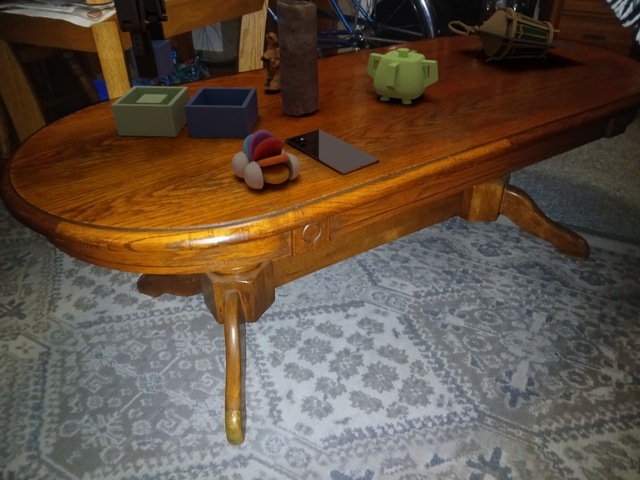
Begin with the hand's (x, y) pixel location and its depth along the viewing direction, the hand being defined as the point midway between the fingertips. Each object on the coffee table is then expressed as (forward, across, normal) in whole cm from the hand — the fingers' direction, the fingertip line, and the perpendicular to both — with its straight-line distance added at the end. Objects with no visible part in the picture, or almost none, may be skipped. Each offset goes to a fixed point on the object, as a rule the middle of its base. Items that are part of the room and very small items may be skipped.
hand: (155, 71), depth 78 cm
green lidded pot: (+14, +30, -39) cm, 51 cm away
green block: (+13, +11, +6) cm, 18 cm away
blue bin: (+13, +12, -6) cm, 19 cm away
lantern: (+14, +61, -67) cm, 91 cm away
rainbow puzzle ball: (+14, -8, -18) cm, 24 cm away
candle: (+14, +21, -19) cm, 31 cm away
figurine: (+14, +33, -12) cm, 37 cm away
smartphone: (+13, +2, -27) cm, 30 cm away
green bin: (+13, +11, +7) cm, 19 cm away
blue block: (0, 0, 0) cm, 0 cm away
